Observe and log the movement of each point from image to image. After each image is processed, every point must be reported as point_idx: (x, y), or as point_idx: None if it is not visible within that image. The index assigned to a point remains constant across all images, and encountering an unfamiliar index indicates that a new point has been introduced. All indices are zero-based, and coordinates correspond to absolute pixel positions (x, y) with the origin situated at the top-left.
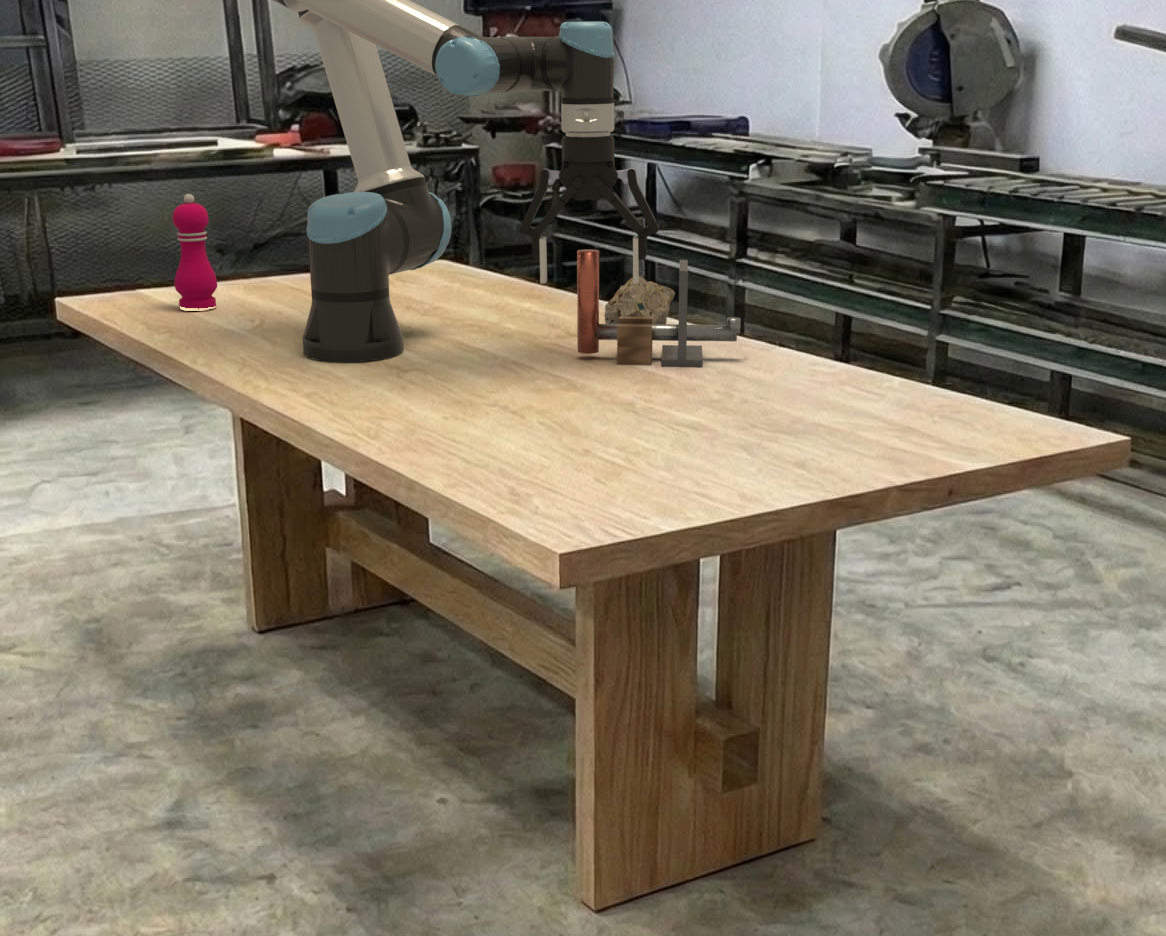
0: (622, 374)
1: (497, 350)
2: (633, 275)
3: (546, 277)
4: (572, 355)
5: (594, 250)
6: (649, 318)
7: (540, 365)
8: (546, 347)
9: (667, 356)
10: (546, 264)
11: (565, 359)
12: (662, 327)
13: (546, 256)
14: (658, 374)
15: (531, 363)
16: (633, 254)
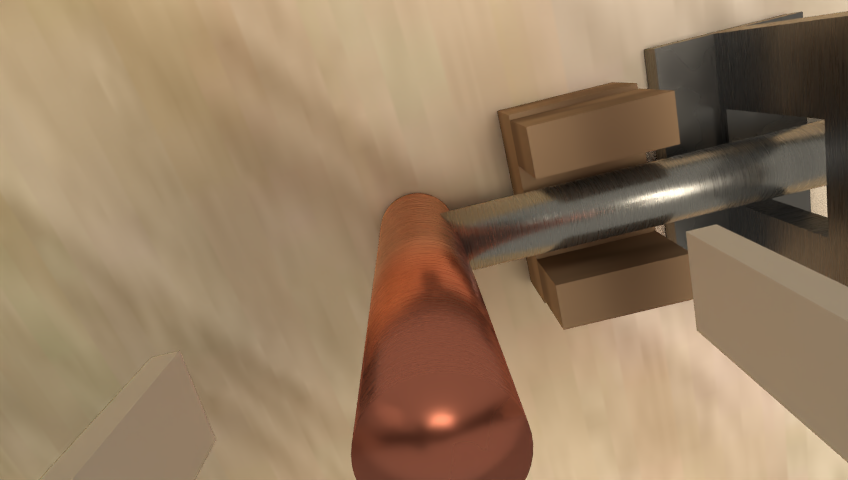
0: (573, 388)
1: (74, 203)
2: (723, 348)
3: (183, 393)
4: (353, 200)
5: (487, 419)
6: (665, 135)
7: (307, 357)
8: (216, 103)
9: (694, 225)
10: (142, 422)
11: (351, 262)
12: (721, 207)
13: (110, 447)
14: (673, 359)
15: (270, 342)
16: (813, 427)
